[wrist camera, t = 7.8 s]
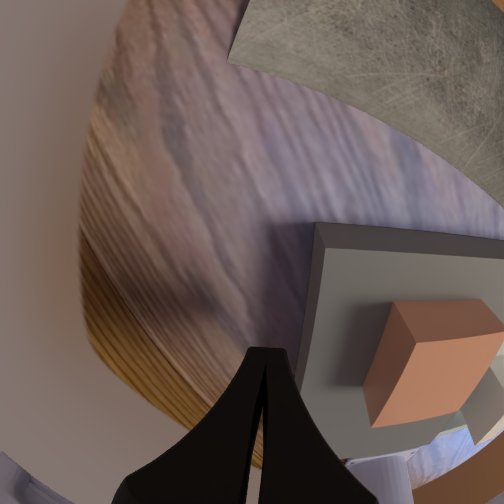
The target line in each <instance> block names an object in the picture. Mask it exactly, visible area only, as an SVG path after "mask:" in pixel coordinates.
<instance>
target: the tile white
mask: <svg viewBox="0 0 504 504" xmlns="http://www.w3.org/2000/svg"><path fill="white" fill-rule="evenodd" d="M460 410H461V412H462V415H463V417H464V419H465V422H466V424H467V427H468V429H469V431H470V434H471V436H472V439H473V442H474V444H475V445H478V444H480V443H482V442H485V441H487V440H489V439H491V438H493V437H495V436H496V435H497V434H498V433H499V432H500V431H501V430H502V428H503V427H504V355H499V356H495V357H494V359H493V361H492V363H491V364H490V366H489V367H488V369H487V371H486V372H485V374H484V375H483V377H482V379H481V380H480V382H479V383H478V385H477V386H476V387H475V389H474V390H473V392H472V393H471V395H470V396H469V397H468V399H467V400H466V401H465V403H464V404H463V405H462V407H461V408H460Z"/></svg>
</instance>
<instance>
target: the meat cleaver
mask: <svg viewBox="0 0 504 504" xmlns="http://www.w3.org/2000/svg"><path fill="white" fill-rule="evenodd" d="M227 63H231V64H235V65H239V66H243V67H247V68H251V69H254V70H258V71H261V72H265V73H268V74H271V75H274V76H277V77H280V78H283V79H286V80H289V81H292V82H295V83H298V84H301V85H303V86H306V87H309V88H311V89H314V90H316V91H319V92H321V93H324V94H326V95H328V96H331V97H333V98H335V99H338V100H340V101H342V102H344V103H347V104H349V105H351V106H353V107H355V108H357V109H359V110H361V111H363V112H365V113H367V114H369V115H371V116H373V117H375V118H377V119H379V120H381V121H383V122H385V123H386V124H388V125H390V126H392V127H394V128H395V129H397V130H399V131H400V132H402V133H404V134H406V135H407V136H409V137H411V138H412V139H414V140H415V141H417V142H419V143H420V144H422V145H423V146H425V147H426V148H428V149H429V150H431V151H432V152H434V153H435V154H437V155H438V156H440V157H441V158H443V159H444V160H445V161H447V162H448V163H450V164H451V165H452V166H454V167H455V168H456V169H458V170H459V171H460V172H462V173H463V174H464V175H465V176H467V177H468V178H469V179H470V180H472V181H473V182H474V183H475V184H477V185H478V186H479V187H480V188H481V189H483V190H484V191H485V192H486V193H487V194H488V195H490V196H491V197H492V198H493V199H494V200H495V201H496V202H497V203H498V204H499V205H501V206H502V207H503V208H504V12H503V11H501V10H500V9H499V8H498V7H497V6H496V5H495V4H494V3H493V2H492V1H491V0H250V2H249V4H248V7H247V9H246V12H245V14H244V17H243V19H242V22H241V24H240V27H239V29H238V32H237V35H236V37H235V40H234V43H233V45H232V48H231V51H230V54H229V57H228V60H227Z"/></svg>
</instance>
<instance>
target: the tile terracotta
mask: <svg viewBox="0 0 504 504" xmlns="http://www.w3.org/2000/svg"><path fill="white" fill-rule="evenodd" d="M503 341H504V324H503V323H502V322H501V321H500V320H499V319H498V317H497V316H496V315H495V314H494V313H493V312H492V311H491V310H490V308H489V307H488V306H487V305H486V304H485V303H484V302H483V301H482V300H481V299H477V300H450V301H393V304H392V307H391V310H390V313H389V317H388V320H387V323H386V326H385V329H384V332H383V335H382V338H381V340H380V343H379V346H378V349H377V351H376V354H375V357H374V359H373V362H372V364H371V367H370V369H369V372H368V374H367V377H366V379H365V381H364V384H363V386H362V389H363V393H364V398H365V402H366V407H367V411H368V416H369V420H370V425H371V428H375V427H383V426H390V425H397V424H403V423H408V422H414V421H419V420H423V419H428V418H432V417H437V416H441V415H445V414H449V413H452V412H456V411H459V409H460V408H461V407H462V405H463V404H464V403H465V401H466V400H467V399H468V397H469V396H470V395H471V393H472V392H473V390H474V389H475V387H476V386H477V385H478V383H479V382H480V380H481V379H482V377H483V375H484V374H485V372H486V371H487V369H488V367H489V366H490V364H491V363H492V361H493V359H494V357H495V356H496V354H497V352H498V350H499V349H500V347H501V345H502V343H503Z"/></svg>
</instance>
